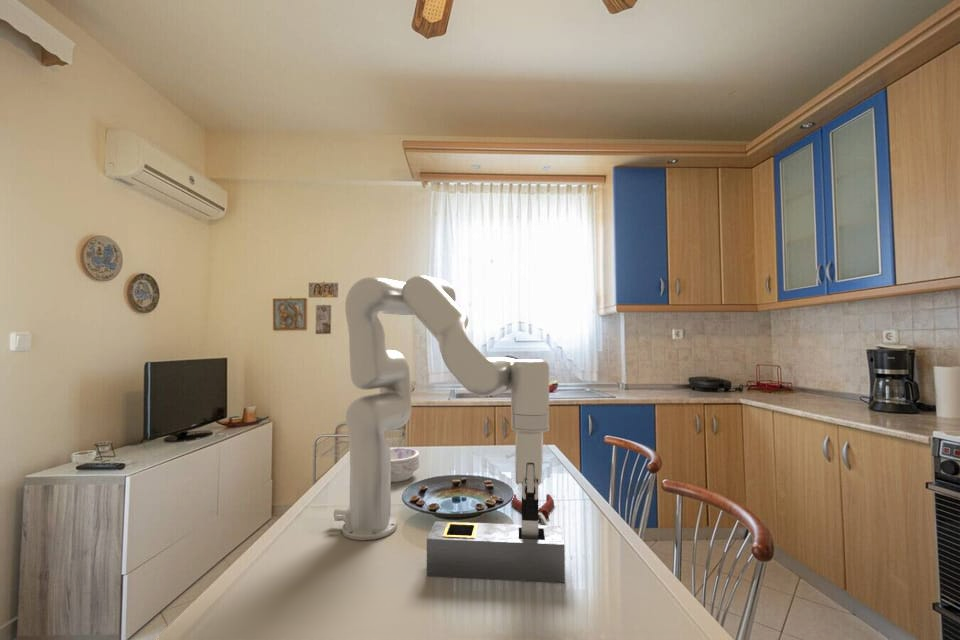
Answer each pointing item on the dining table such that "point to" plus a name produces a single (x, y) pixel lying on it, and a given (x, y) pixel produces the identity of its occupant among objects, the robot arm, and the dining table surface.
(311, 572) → the dining table surface
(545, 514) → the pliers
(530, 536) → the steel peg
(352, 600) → the dining table surface
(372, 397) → the robot arm
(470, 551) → the grey peg board
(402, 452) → the white textured bowl
